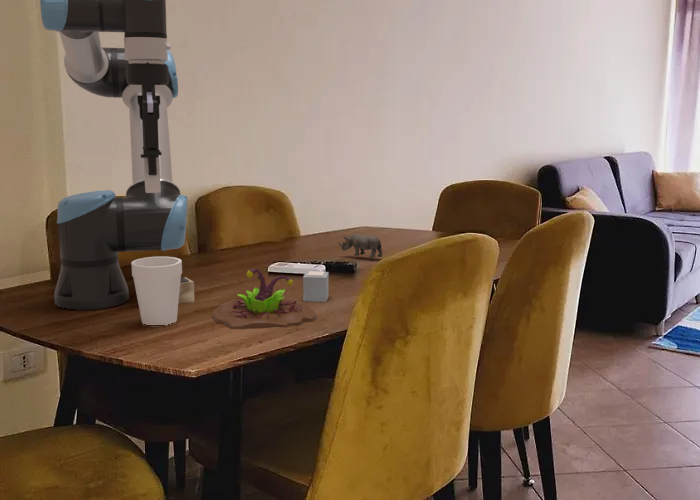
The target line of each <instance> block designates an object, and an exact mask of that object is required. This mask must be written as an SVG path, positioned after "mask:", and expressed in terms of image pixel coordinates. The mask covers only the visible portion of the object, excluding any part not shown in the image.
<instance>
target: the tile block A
mask: <svg viewBox="0 0 700 500" xmlns="http://www.w3.org/2000/svg"><path fill="white" fill-rule="evenodd" d="M194 302H195V282H194V281H193V280H191V279H189V278H188V277H186V276H181V280H180V291H179V301H178V305H181V304H186V303H187V304H189V303H194Z"/></svg>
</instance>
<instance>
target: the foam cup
mask: <svg viewBox="0 0 700 500" xmlns="http://www.w3.org/2000/svg"><path fill="white" fill-rule="evenodd" d="M182 261H183V260H182V259H181V258H178V257H174V256H148V257H142V258H137V259H134V260H132V261H131V277H133V282H134V283H133V284H134V288H135V293H136V298H137V303H138V308H139V309H138V310H139V314H140V320H141V324H142V323H143V324H142V325H144V324H146V325H165V326H169V325H168V324H170V325H172V324H171V323H174V322H175V323H177V322H176V321H177V319H178V309H179V304H178V301H179V291H180V280H181V277H182V275H183V262H182ZM175 323H174V324H175ZM146 325H145V326H146Z"/></svg>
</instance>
